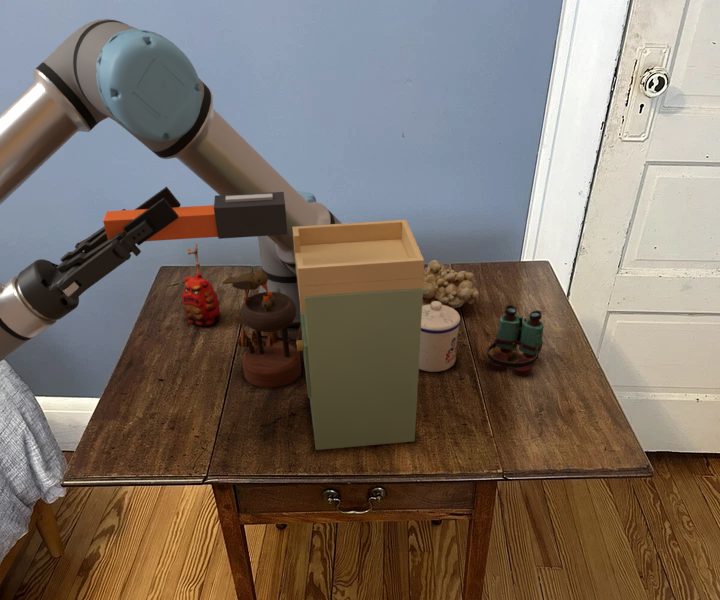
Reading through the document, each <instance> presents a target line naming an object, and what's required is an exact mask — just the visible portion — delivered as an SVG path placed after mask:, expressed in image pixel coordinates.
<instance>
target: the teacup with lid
mask: <svg viewBox="0 0 720 600" xmlns="http://www.w3.org/2000/svg"><path fill="white" fill-rule="evenodd" d="M461 319H462V318H461V315H460V314H459V312H458V311H457V310H456V309H453V308H451V307H448V306H445V305H442V304H441V302H439V301H433V302H432V303H431V304H429V305H424V306H422V318H421V336H420V354H419V371H420V370H421V371H424V372H430V373H438V372H439V373H440V372H443V371H447V370H449V369H450V368H452V367H453V366H454V365H455V364H456V360H457V351H458V350H457V349H458V341H459V340H458V339H459V331H460V325H461V323H462V320H461Z"/></svg>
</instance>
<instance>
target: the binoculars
mask: <svg viewBox="0 0 720 600" xmlns="http://www.w3.org/2000/svg"><path fill="white" fill-rule="evenodd" d="M517 313H518V310H517V308H516V306H514V305H512V304H507V305H505V307H504V314H502V315H501V317H500V319H499V322H498V327H497V333H496V336H495V339H494V340H493V342H492V343H491V344H490V345H489V346H488V348H487V349H486V356H487V359H489V362H488V364H489V365H488V366H489V367H490V368H491V369H492V370H494V371H500V372H501V371H504V370H505V369H506V368H513V372H514V374H515V375H516V376H519V377H525V376H528V375H530V374H531V373H532V371H533V364H535V363H536V362H537V360H538V359H539V354H540V353H541V351H542V348H543V343H544V341H543V335H544V323H543V322H542V321H540V320H541V319H542V316H543V312H542V310H539V309H537V310H533V311H531V312H530V313H529V316H528V317H524V318H523V316H520V315H517ZM523 319H524V321H523ZM517 347H518V349H519V352H521V353H522V355H521V358H519V359H518V360H516V361H515V362H511V361H510V362H509V359H508V358H511V357H512V356H513V354H514V350H515V349H517ZM496 348H498V350H497V352H496V353H493V354H492V355H491V353H490V352H491V350H492V349H496Z"/></svg>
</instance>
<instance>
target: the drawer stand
mask: <svg viewBox="0 0 720 600" xmlns="http://www.w3.org/2000/svg"><path fill="white" fill-rule="evenodd" d="M292 228H293V241H294V253H295V265H296V275H297V283H298V291H299V300H300V318H301V330H302V333H301V339H300V340H297V341H296V342H297V344H296V349H297V351H299V352H302V355H303V362H304V363H303V364H304V372H305V380H306V388H307V390H306V391H307V397H308V398H309V404H310V413H311V414H310V415H311V421H312V431H313V438H314V447H315V451H321V450H332V449H334V450H335V449H345V448H356V447H365V446H376V445H377V446H378V445H388V444H389V445H390V444H399V443H401V444H402V443H411V442H415V441H416V427H417V410H418V409H417V408H418V390H419V389H418V388H419V372H420V369H419V354H420V336H421V318H422V299H423V276H424V269H425V258H424V256H423V255H422V252H421V249H420V248H419V246H418V242H417V240H416V238H415V236H414V234H413V232H412V230H411V226H410V225H409V223H408V220H407V219H395V220H379V221H366V222H365V221H364V222H362V221H361V222H349V223H348V222H346V223H342V224H329V225H313V226H297V227H292ZM296 342H295V343H296Z"/></svg>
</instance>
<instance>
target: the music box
mask: <svg viewBox="0 0 720 600" xmlns="http://www.w3.org/2000/svg"><path fill="white" fill-rule="evenodd" d="M267 281H268V276H267V274H266V273H265V272H263V271H262V270H257V271H255V272H246V273H243V274H240V275H238V276H236V277H234V276H228V277H227V278H226V279H225V280H223V281H222V284H223V285H228V284H232V285H231V286H232V288H235V291H236V295H237V302H238V309H239V314H237V315H235V316H234V321H235V323H236V324H238V325H241V333H240V336H238V338H237V345H238V346H239V347H242V348H248V349H247V350H246V351H245V352H244V353H243V354H242V357H241V362H242V370H243V376H244V379H245V380H246V381H247V382H248V383H249V384H252V385H253V386H256V387H259V388H265V389H266V388H269V389H270V388H271V389H272V388H279V387H280V388H281V387H283V386H286V385H289V384H291V383H294V381H296V380H297V379H298V378H299V377H300V376H301V373H302V365H301V364H302V363H301V353H300V351H297V347H295V346H294V345H292V344H291V343H295V344H296V345H297V342H296V341H297V340H301V338H302V330H301V326H298V331H297V334H296V338H292V337H291V336H288V334H289V333H288V328H289V327H288V326H289V325H290V324H291V323H292V322H293V321H294V319H295V316H296V306H295V304H294V302H293V300H292V299H291V298H290V297H288V296H287V295H285V294H282V293H279V292H268V287H267ZM260 286H262V287H263V288H264V289H265V290H266V291H267V292H263V293H259V292H258V293H256V294H253V295H251V296H249V292H248V291H254V290H257V289H259V288H260ZM239 290H241V291H244V296H245V297H243V298H244V300H243V301H244V302H243V305H242V306H240V305H241V304H240V299H239V298H240V297H239V292H238V291H239ZM243 326H247V327H249V328H250V329H252V330H251V332H250V336H248V334H247V331H246V330H245V329H244V327H243ZM279 331H281V337H279V334H278V332H279ZM262 333H268V334H267V335H262Z"/></svg>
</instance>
